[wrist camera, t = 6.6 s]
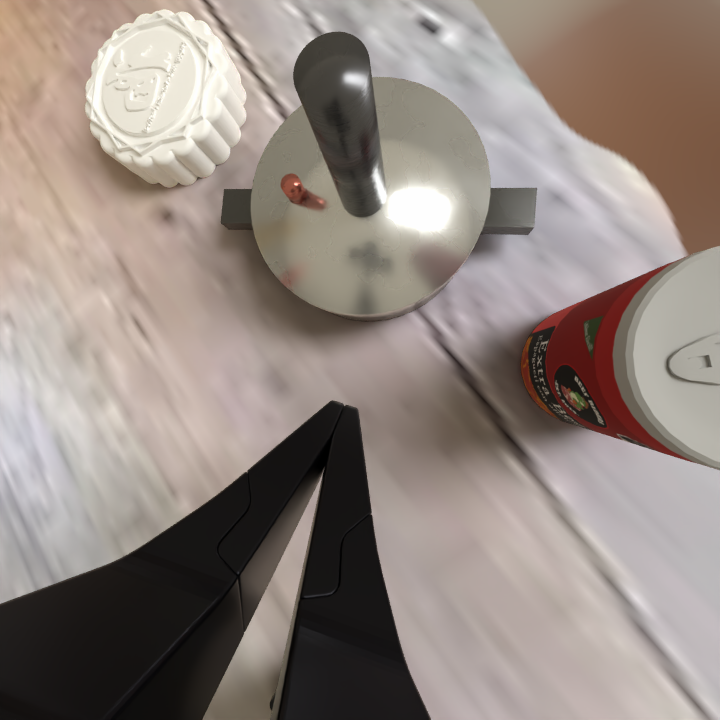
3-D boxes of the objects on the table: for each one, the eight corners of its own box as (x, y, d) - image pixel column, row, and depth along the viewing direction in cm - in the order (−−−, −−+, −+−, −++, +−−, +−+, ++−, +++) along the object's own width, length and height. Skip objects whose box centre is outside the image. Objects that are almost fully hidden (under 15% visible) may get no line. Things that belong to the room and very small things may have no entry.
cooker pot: (512, 333, 21) (528, 326, 18) (233, 315, 25) (209, 307, 22) (527, 124, 22) (546, 86, 19) (251, 134, 25) (230, 102, 22)
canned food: (495, 339, 22) (581, 304, 11) (613, 285, 21) (837, 187, 10) (549, 444, 21) (701, 521, 10) (674, 393, 20) (993, 417, 9)
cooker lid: (478, 324, 19) (535, 281, 10) (245, 309, 21) (130, 265, 12) (496, 80, 19) (567, -161, 10) (266, 93, 21) (170, -96, 13)
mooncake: (154, 32, 27) (116, -19, 24) (273, 72, 25) (250, 23, 22) (97, 161, 28) (51, 130, 24) (210, 210, 26) (178, 184, 22)
